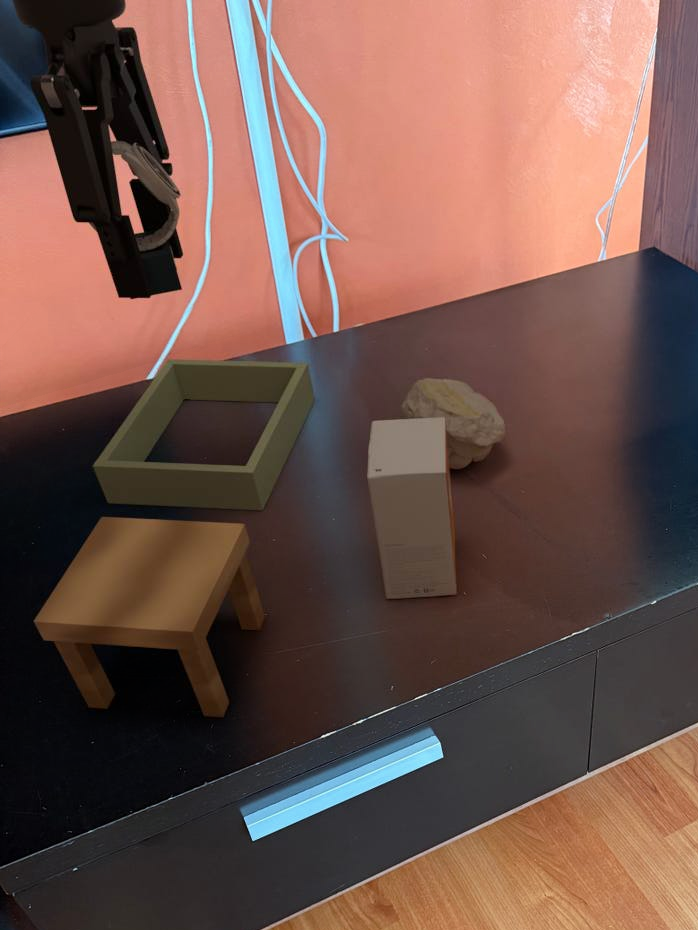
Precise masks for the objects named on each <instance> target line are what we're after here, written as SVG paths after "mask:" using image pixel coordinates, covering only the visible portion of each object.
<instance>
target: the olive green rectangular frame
mask: <svg viewBox="0 0 698 930" xmlns="http://www.w3.org/2000/svg"><path fill="white" fill-rule="evenodd" d="M309 366H310V365H309V363H308V362H291V361H290V362H289V361H255V360H254V361H251V360H250V361H249V360H211V359H209V360H208V359H175V358H173V359H172V358H168V359H167V360H166V361H165V363H164V364H163V366H162V367H161V368H160V370H159V372H157V374H156V375H155V377H154V378H153V380H152V381H151V383H150V384H149V386H148V387H147V388H146V389H145V391H144V392H143V394H142V395H141V397H140V398H139V400H138V401H137V403H136V404H135V405H134V406H133V408H132V409H131V411H130V412H129V414H128V416H127V417H126V418H125V420H124V421H123V422H122V423H121V425H120V427H119V428H118V429H117V431H116V432H115V434H114V435H113V436H112V438H111V439H110V441H109V443H107V445H106V446H105V448H104V450H103V451H102V452H101V453H100V455H99V457H98V458H97V459H96V460H95V462H94V463H93V464H92V468H93V470H94V473H95V475H96V478H97V480H98V483H99V485H100V487H101V489H102V492H103V494H104V497H105V500H106V502H107V504H115V505H116V504H119V505H135V506H136V505H138V506H159V507H177V508H178V507H179V508H180V507H181V508H199V509H200V508H201V509H202V508H203V509H224V510H243V511H264V509H265V507H266V504H267V503H268V500H269V498H270V496H271V494H272V492H273V489H274V488H275V486H276V483H277V482H278V479H279V477H280V475H281V473H282V470H283V469H284V467H285V465H286V462H287V460H288V458H289V455H290V453H291V452H292V449H293V447H294V445H295V443H296V441H297V439H298V436H299V435H300V432H301V430H302V428H303V426H304V424H305V421H306V419H307V417H308V416H309V413H310V411H311V409H312V406H313V405H314V402H315V400H316V397H315V392H314V387H313V382H312V376H311V372H310V371H311V370H310V367H309ZM185 399H188V400H189V399H190V400H189V401H215V402H217V401H218V402H245V403H246V402H251V403H254V402H255V403H277V404H276V407H275V408H274V411H273V412H272V415H271V417H270V418H269V420H268V422H267V423H266V426H265V428H264V430H263V432H262V433H261V435H260V438H259V440H258V441H257V443H256V445H255V447H254V449H253V451H252V452H251V455H250V457H249V458H248V461H247V463H246V464H245V465H229V464H228V465H226V464H207V463H205V464H203V463H182V462H181V463H180V462H158V461H155V462H153V461H146V459H147V458H148V456H149V455H150V454H151V452H152V450H153V448H154V447H155V446H156V444H157V442H158V441H159V439H160V438H161V436H162V435H163V433H164V431H165V430H166V428H167V427H168V425H169V424H170V423H171V421H172V419H173V417H174V416H175V415H176V414H177V411H178V410H179V408H180V406H181V405H182V404H183V402H184V401H183V400H185ZM185 401H186V400H185Z"/></svg>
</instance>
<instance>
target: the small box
mask: <svg viewBox="0 0 698 930" xmlns="http://www.w3.org/2000/svg"><path fill="white" fill-rule="evenodd" d="M369 434H370V435H369V444H368V448H367V449H368V451H367V452H368V454H367V474H366V478H367V480H366V481H367V485H368V493H369V499H370V505H371V511H372V517H373V518H372V519H373V523H374V524H373V525H374V530H375V536H376V541H377V548H378V554H379V560H380V567H381V573H382V575H381V576H382V580H383V581H382V582H383V589H384V595H385V598H386V599H388V600H392V599H393V600H394V599H410V598H411V599H412V598H426V597H440V596H441V597H442V596H456V595H457V594H458V587H457V571H456V532H455V522H454V521H455V519H454V507H453V499H452V498H453V497H452V484H451V483H452V482H451V471H450V470H451V469H450V468H449V456H448V445H447V428H446V418H445V417H439V418H419V419H402V418H400V419H384V420H383V419H380V420H373V421H372V422H371V427H370V433H369Z"/></svg>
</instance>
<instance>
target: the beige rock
mask: <svg viewBox="0 0 698 930" xmlns="http://www.w3.org/2000/svg"><path fill="white" fill-rule="evenodd" d="M400 407H401V408H400V419H419V418H439V417H445V418H446V428H447V445H448V456H449V469H452V470H462V469H464V468H466V467H468V465H469V464H470V463H472V461H473V462H475V463H476V462H479V461H483V460H484V458H486V457H487V456H488V455H489V454H490V452H491V451H492V447H493V445H494V444H498V443H501V442H503V440H504V438H505V436H506V424H505V420H504V418H503V417H502V416H501V414H499V411H498V409H497V406H495V404H494V403H493V402H491V401H490V399H488V398H486V397H485V396H483V394H481V393H479V392H475V391H474V389H472V388H471V386H470V385H468V384H467V383H465V382H463V381H459V380H457V379H449V378H441V379H439V378H438V379H437V378H432V377H425V378H424V379H419V380H417V381H416V382H415V383H413V385H412V387H411V388H410V389H409V391H408V392H407V394H406V396H405V400H404V401H403V402H402V404H401V406H400Z"/></svg>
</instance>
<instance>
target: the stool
mask: <svg viewBox="0 0 698 930" xmlns="http://www.w3.org/2000/svg"><path fill="white" fill-rule="evenodd" d="M250 543H251V541H250V538H249V535H248V531H247V527H246V525H245V523H236V522H234V523H233V522H217V521H198V520H197V521H195V520H173V519H154V518H134V517H113V516H101V517H100V519H99V520H98V521H97V523H96V525H95V526H94V527H93V529H92V530H91V532H90V534H89V536H88V537H87V539H86V540H85V541H84V543H83V545H82V546H81V548H80V549H79V551H78V553H77V554H76V556H74V558H73V560H72V561H71V563H70V565H69V566H68V567H67V569H66V571H65V572H64V574H63V575H62V577H61V579H60V580H59V582H58V583H57V584H56V586H55V587H54V589H53V591H52V592H51V594H50V595H49V597H48V598H47V599H46V602H45V603H44V605H42V607H41V609H40V610H39V612H38V614H37V615H36V617H35V618H34V620H33V623H34V625H35V627H36V629H37V631H38V632H39V634H40V636H41V638H42V640H43V641H45V642H46V641H47V642H53V643H54V645H55V647H56V649H57V651H58V653H59V654H60V656H61V658H62V660H63V662H64V664H65V666H66V667H67V669H68V671H69V673H70V675H71V677H72V679H73V680H74V682H75V684H76V687H77V688H78V690H79V692H80V693H81V696H82V697H83V699H84V701H85V703H86V705H87V707H88V708H91V709H105V710H107V709H108V708H109V707H110V705H111V702H112V701H113V699H114V697H115V695H116V692H115V690H114V688H113V686H112V684H111V682H110V680H109V678H108V676H107V674H106V672H105V670H104V668H103V666H102V664H101V662H100V660H99V658H98V656H97V654H96V651H95V650H94V648H93V646H92V645H106V646H121V647H136V648H149V649H166V650H177V653H178V655H179V656H180V659H181V662H182V665H183V667H184V670H185V672H186V675H187V677H188V679H189V682H190V683H191V684H190V685H191V688H192V690H193V692H194V694H195V697H196V699H197V702H198V704H199V707H200V710H201V711H202V714H203V716H204V717H210V718H211V717H212V718H213V717H214V718H224V717H225V715H226V712H227V709H228V707H229V705H230V701H229V697H228V695H227V692H226V689H225V686H224V684H223V681H222V678H221V675H220V673H219V670H218V668H217V667H218V666H217V665H216V661H215V660H214V657H213V654H212V651H211V649H210V646H209V643H208V640H207V636H208V634H209V631H210V630H211V627H212V626H213V623H214V622H215V619H216V617H217V614H218V613H219V611H220V608H221V606H222V604H223V602H224V599H225V597H226V595H227V593H228V591H229V594H230V598H231V601H232V603H233V606H234V609H235V613H236V615H237V619H238V622H239V624H240V628H241V630H247V631H248V630H249V631H260V630H261V629H262V626H263V623H264V621H265V618H266V616H265V612H264V609H263V606H262V603H261V599H260V596H259V592H258V588H257V586H256V583H255V579H254V576H253V572H252V569H251V566H250V562H249V559H248V555H247V550H248V548H249V546H250Z"/></svg>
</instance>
